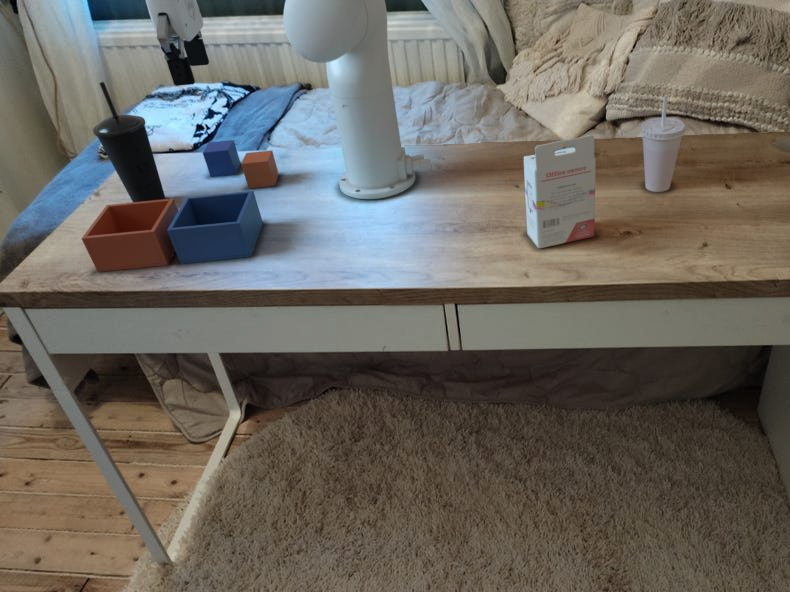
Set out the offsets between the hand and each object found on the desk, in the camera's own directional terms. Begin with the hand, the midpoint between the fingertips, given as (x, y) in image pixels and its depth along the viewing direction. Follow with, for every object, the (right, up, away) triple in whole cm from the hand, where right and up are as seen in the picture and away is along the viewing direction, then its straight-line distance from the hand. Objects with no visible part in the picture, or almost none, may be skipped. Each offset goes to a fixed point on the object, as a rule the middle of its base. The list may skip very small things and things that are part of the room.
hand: (192, 74), depth 115 cm
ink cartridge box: (+58, -29, -15) cm, 67 cm away
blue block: (+1, -13, +11) cm, 17 cm away
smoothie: (+74, -20, -6) cm, 77 cm away
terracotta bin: (-3, -30, -9) cm, 32 cm away
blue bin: (+9, -29, -9) cm, 32 cm away
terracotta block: (+10, -16, +6) cm, 20 cm away
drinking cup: (-8, -21, +3) cm, 23 cm away
